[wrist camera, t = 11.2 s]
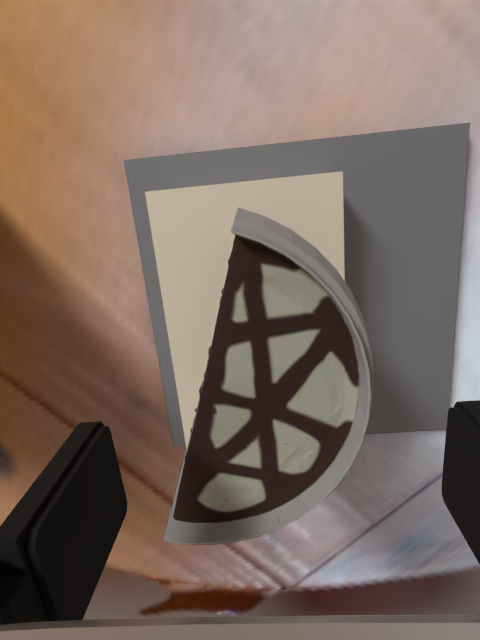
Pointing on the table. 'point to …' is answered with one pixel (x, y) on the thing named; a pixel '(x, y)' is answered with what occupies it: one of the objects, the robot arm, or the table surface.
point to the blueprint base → (374, 252)
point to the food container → (273, 391)
